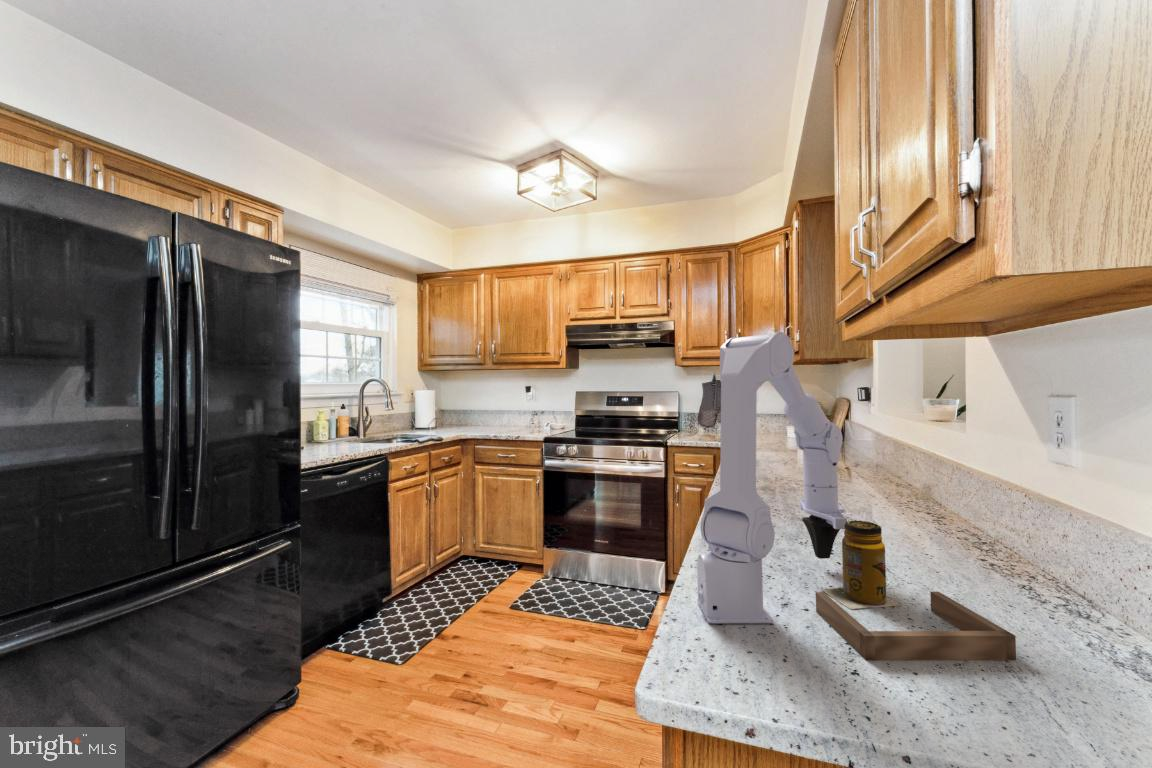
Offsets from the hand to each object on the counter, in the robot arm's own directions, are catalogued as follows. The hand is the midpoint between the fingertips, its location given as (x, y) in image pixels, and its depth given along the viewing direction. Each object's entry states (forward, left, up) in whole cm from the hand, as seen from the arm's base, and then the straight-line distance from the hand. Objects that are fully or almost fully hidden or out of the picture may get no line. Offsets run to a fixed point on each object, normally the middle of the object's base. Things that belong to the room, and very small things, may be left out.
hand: (822, 557), depth 90 cm
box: (0, -24, -2) cm, 24 cm away
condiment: (0, -12, -3) cm, 12 cm away
